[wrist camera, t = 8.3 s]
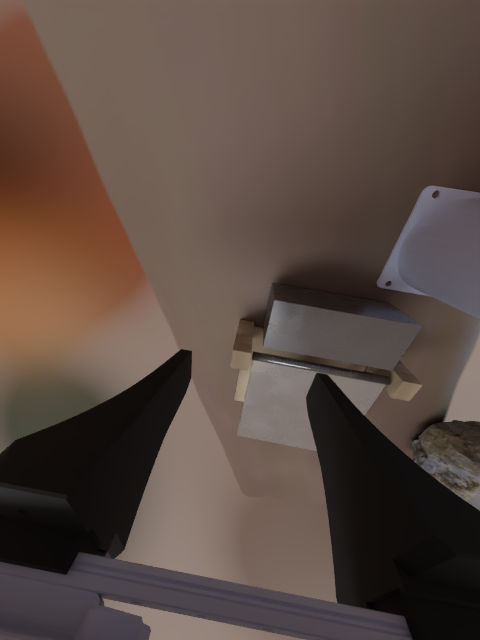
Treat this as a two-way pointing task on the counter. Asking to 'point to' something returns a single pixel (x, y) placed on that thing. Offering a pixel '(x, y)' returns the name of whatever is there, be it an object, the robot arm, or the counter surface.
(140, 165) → the counter surface
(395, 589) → the robot arm
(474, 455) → the rock
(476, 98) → the counter surface
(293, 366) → the trapdoor
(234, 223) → the counter surface
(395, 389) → the frame
